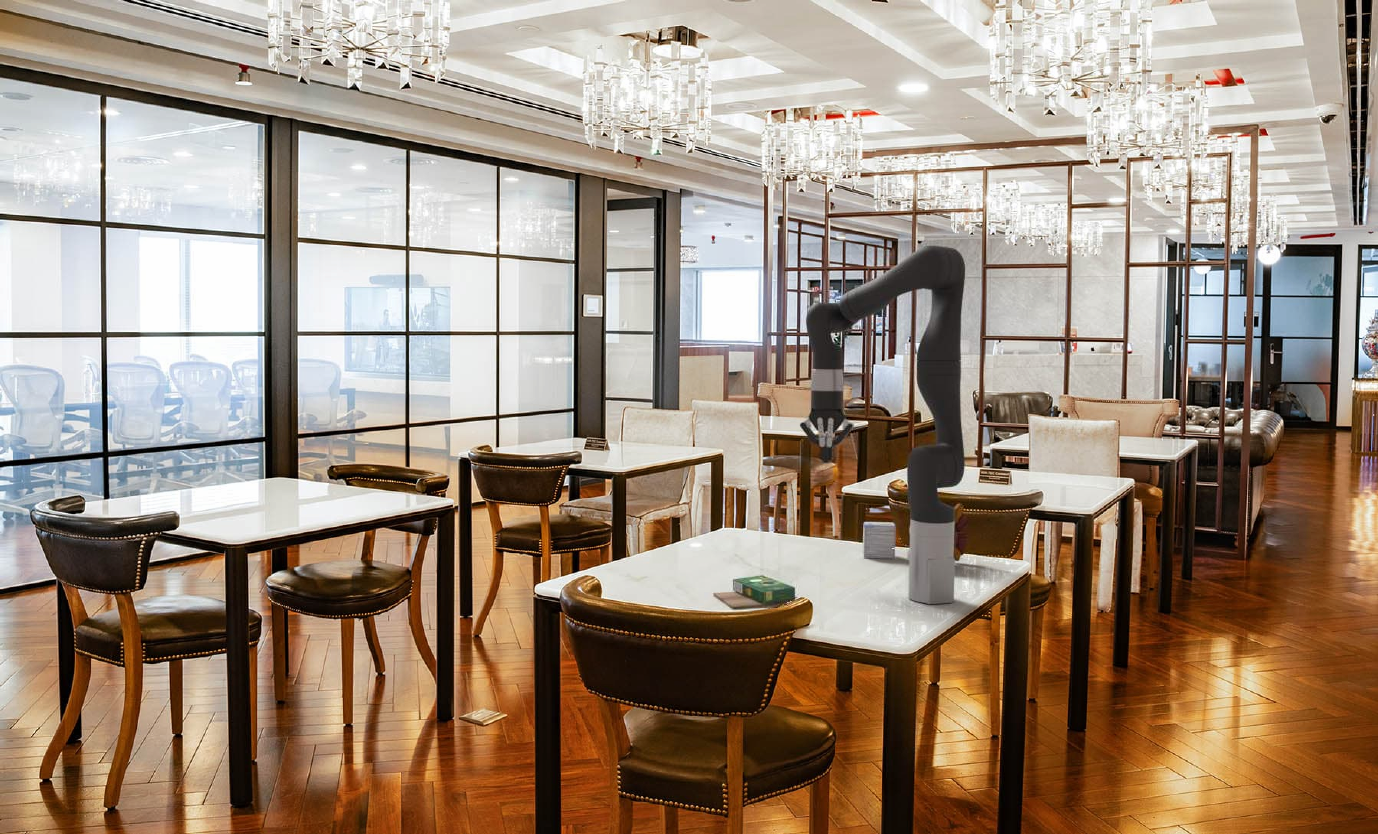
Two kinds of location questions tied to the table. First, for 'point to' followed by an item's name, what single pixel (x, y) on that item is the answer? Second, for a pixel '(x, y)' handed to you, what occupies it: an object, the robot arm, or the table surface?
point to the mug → (957, 533)
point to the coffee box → (764, 589)
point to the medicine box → (879, 540)
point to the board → (743, 601)
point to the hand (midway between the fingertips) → (826, 462)
